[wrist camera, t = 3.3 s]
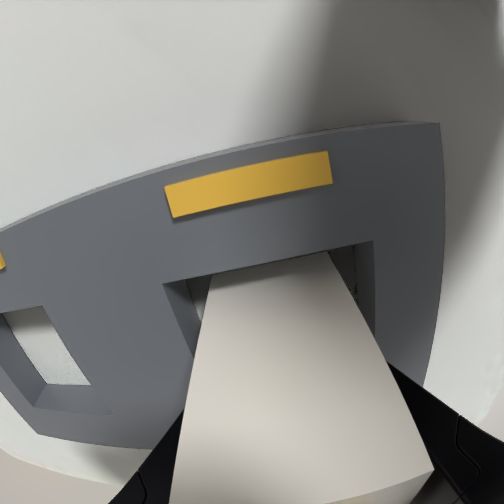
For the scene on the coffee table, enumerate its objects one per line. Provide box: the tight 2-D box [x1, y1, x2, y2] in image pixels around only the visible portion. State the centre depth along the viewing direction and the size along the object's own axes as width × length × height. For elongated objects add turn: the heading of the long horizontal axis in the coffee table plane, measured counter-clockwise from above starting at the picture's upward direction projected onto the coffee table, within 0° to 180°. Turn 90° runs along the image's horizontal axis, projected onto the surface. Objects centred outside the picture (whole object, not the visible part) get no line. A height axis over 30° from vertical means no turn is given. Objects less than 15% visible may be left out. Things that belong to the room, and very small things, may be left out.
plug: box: [169, 251, 434, 504], centre depth 7 cm, size 4×4×9 cm
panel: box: [0, 121, 445, 449], centre depth 10 cm, size 22×12×2 cm, turn 102°
